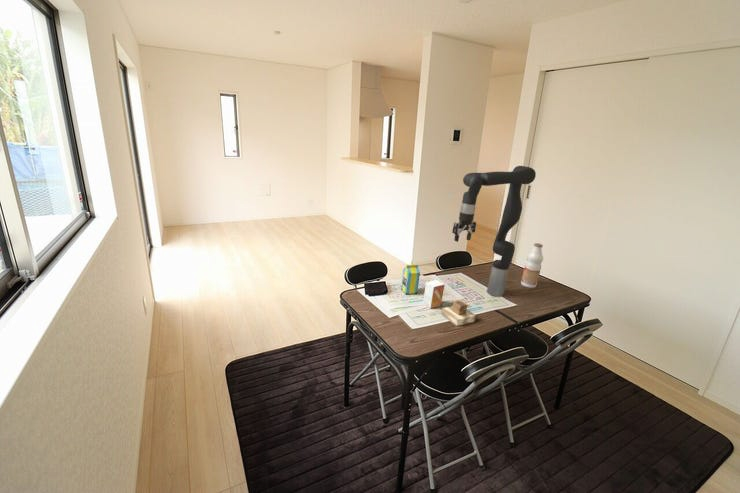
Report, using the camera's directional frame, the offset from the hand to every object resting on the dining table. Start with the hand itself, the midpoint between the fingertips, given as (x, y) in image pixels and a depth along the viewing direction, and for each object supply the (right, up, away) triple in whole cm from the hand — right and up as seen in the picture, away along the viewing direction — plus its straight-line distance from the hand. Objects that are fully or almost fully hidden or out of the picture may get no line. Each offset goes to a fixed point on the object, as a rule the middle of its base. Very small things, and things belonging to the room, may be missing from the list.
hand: (462, 240), depth 191 cm
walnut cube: (-5, -37, -13) cm, 39 cm away
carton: (-28, -30, +13) cm, 43 cm away
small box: (-17, -35, 0) cm, 39 cm away
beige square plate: (-5, -40, -11) cm, 42 cm away
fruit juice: (+52, -28, +36) cm, 69 cm away
